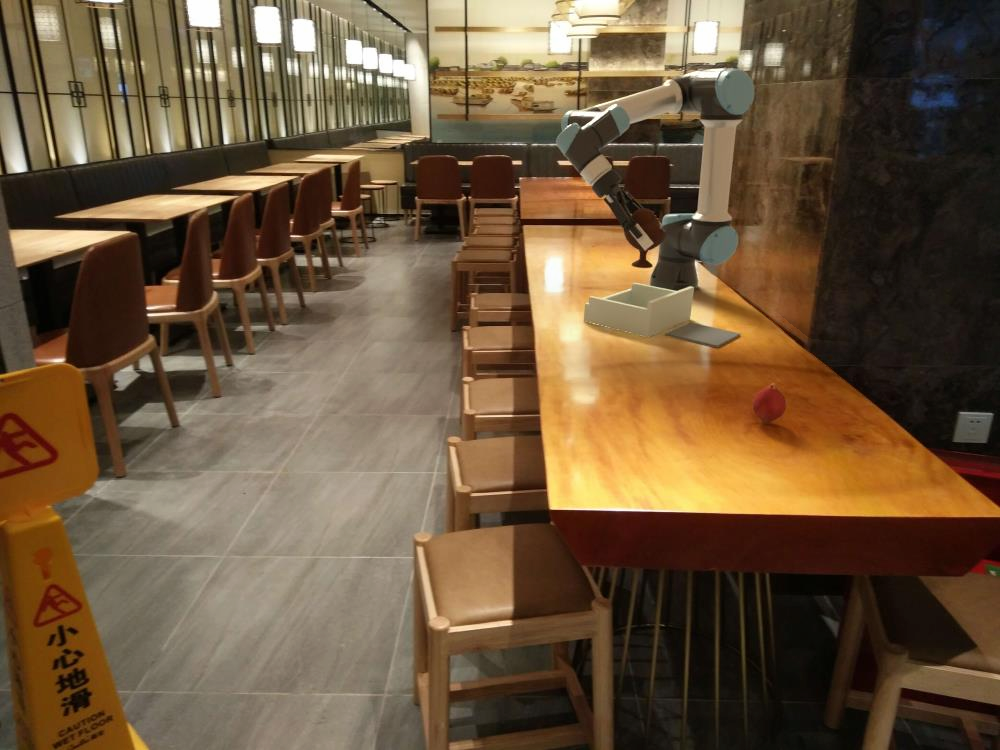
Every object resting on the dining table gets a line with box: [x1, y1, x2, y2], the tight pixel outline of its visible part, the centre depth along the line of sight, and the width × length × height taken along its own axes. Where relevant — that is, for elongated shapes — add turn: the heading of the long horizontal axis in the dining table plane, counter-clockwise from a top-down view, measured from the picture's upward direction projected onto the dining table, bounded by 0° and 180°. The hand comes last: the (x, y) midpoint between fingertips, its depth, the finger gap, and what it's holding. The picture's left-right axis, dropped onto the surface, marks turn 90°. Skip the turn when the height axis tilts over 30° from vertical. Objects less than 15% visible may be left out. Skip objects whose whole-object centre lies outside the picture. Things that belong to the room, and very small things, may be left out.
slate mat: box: [664, 322, 741, 349], centre depth 189 cm, size 14×14×1 cm
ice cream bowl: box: [623, 207, 667, 269], centre depth 193 cm, size 11×11×15 cm
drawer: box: [583, 282, 695, 338], centre depth 199 cm, size 23×19×9 cm
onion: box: [752, 383, 787, 424], centre depth 137 cm, size 6×6×8 cm
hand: (654, 243), depth 192 cm, fingers closed on ice cream bowl, 11 cm apart
